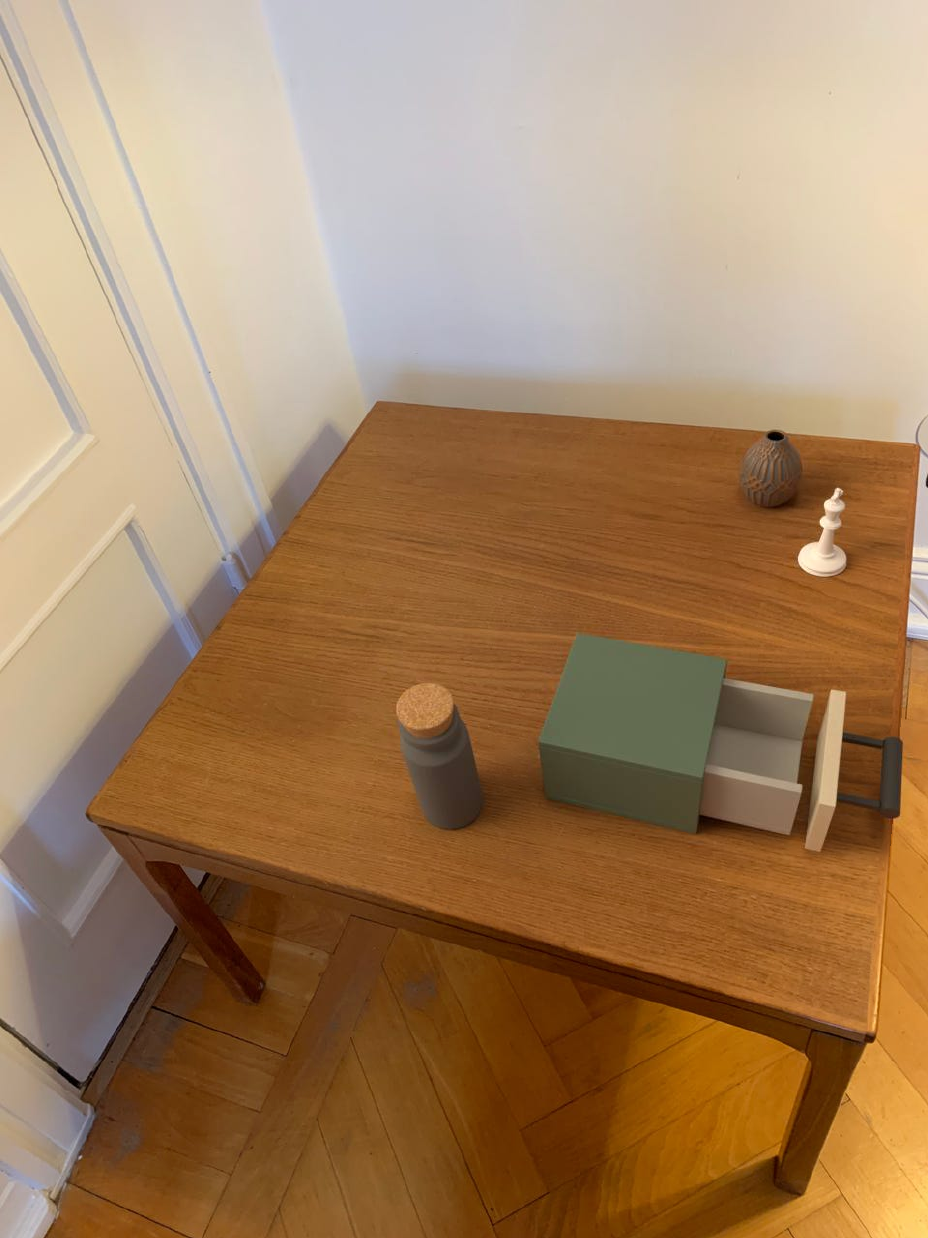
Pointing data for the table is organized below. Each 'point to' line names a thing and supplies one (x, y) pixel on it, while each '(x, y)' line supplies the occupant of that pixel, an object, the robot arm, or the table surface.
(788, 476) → the vase
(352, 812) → the table surface
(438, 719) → the bottle
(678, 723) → the cabinet
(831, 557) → the chess piece
